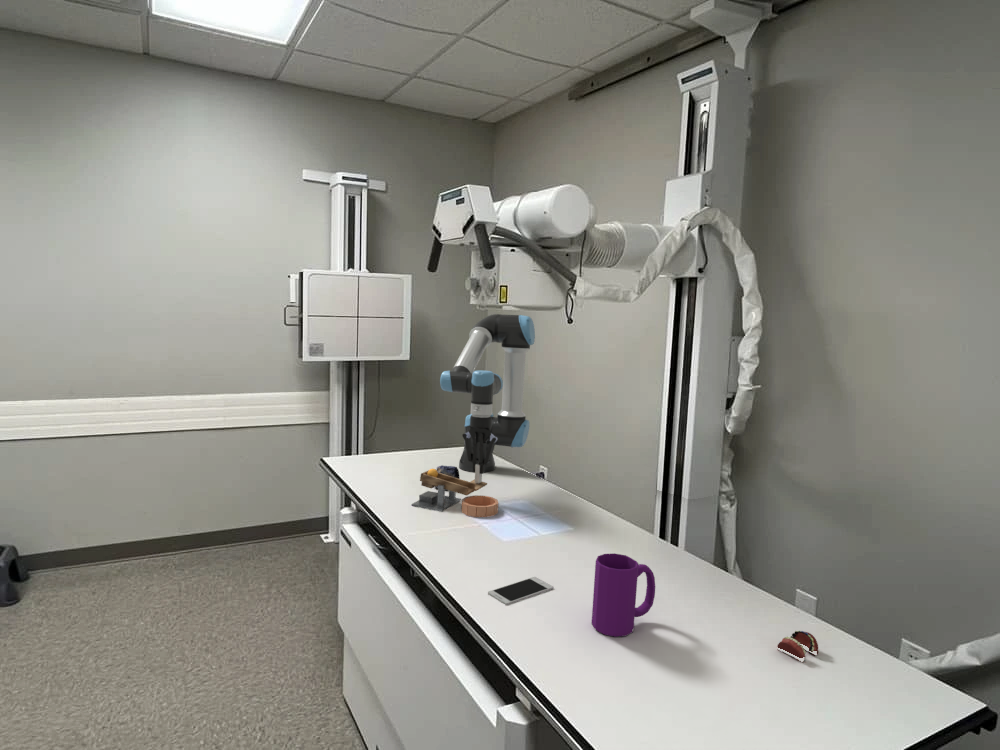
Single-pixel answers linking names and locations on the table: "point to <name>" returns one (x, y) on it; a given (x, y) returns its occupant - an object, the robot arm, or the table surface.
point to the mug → (619, 594)
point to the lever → (451, 483)
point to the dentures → (799, 638)
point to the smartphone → (520, 590)
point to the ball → (433, 473)
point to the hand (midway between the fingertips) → (478, 482)
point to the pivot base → (441, 500)
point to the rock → (448, 471)
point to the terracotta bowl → (479, 506)
